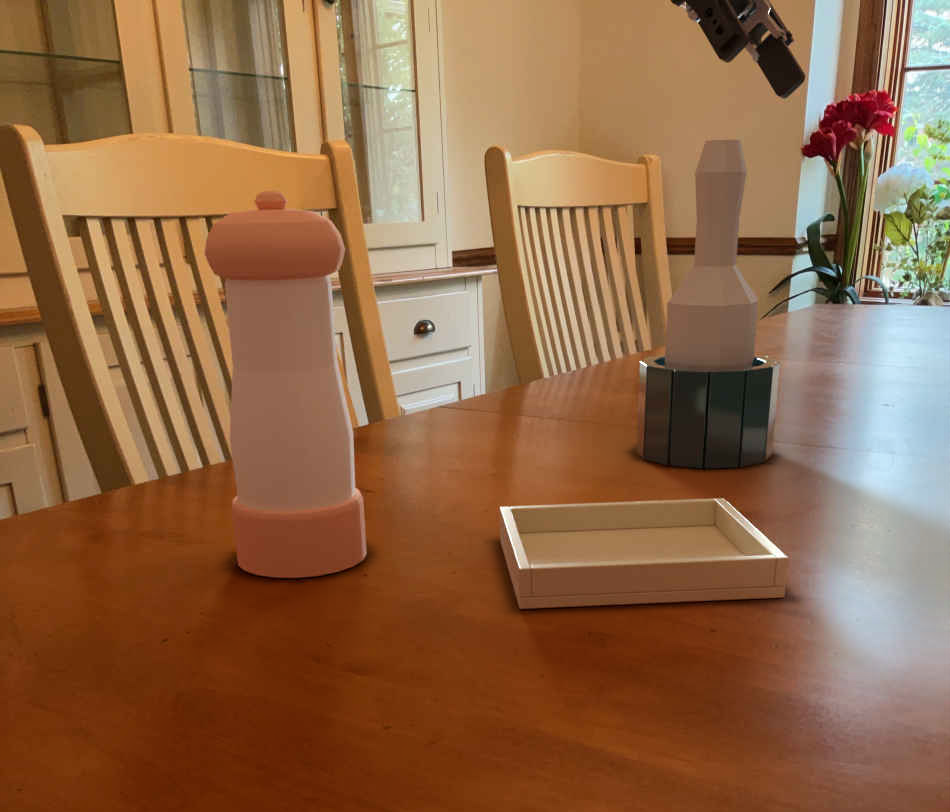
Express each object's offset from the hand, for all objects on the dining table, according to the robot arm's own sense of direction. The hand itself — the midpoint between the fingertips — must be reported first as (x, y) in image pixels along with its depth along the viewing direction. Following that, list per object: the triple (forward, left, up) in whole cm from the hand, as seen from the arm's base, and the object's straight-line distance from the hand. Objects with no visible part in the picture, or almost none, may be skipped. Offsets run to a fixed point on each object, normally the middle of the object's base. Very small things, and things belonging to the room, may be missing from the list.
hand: (766, 71), depth 74 cm
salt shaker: (+33, +25, -27) cm, 49 cm away
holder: (+4, +3, -27) cm, 27 cm away
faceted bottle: (+4, +3, -27) cm, 27 cm away
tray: (+15, +29, -27) cm, 42 cm away
